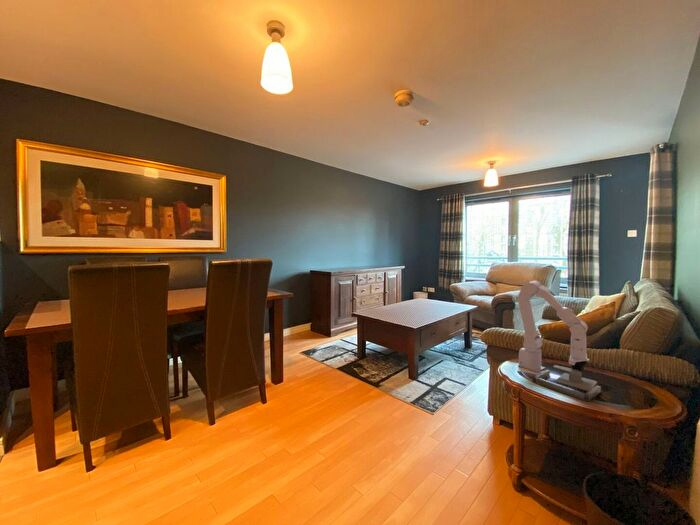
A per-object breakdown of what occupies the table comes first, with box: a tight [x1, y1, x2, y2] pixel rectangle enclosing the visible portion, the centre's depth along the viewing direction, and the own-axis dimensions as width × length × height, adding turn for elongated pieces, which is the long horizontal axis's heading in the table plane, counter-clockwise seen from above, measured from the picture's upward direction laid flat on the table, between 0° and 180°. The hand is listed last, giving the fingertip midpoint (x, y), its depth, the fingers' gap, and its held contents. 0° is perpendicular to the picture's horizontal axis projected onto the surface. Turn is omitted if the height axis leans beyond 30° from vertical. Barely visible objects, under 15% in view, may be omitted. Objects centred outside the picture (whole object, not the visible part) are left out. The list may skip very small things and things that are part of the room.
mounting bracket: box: [532, 369, 602, 403], centre depth 127 cm, size 20×13×2 cm, turn 32°
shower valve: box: [553, 364, 598, 392], centre depth 132 cm, size 12×6×15 cm
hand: (577, 376), depth 134 cm, fingers closed
